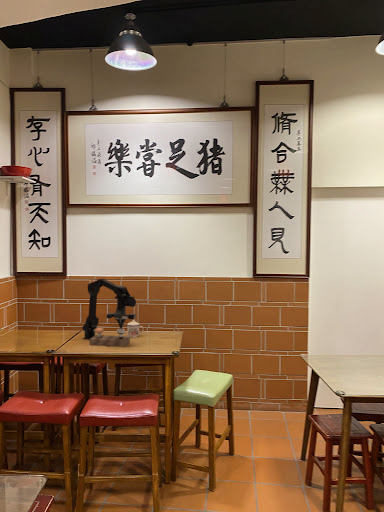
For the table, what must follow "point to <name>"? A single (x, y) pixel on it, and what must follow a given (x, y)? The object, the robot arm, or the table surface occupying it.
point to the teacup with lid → (133, 329)
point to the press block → (109, 340)
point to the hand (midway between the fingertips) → (121, 328)
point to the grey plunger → (120, 333)
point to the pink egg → (99, 331)
